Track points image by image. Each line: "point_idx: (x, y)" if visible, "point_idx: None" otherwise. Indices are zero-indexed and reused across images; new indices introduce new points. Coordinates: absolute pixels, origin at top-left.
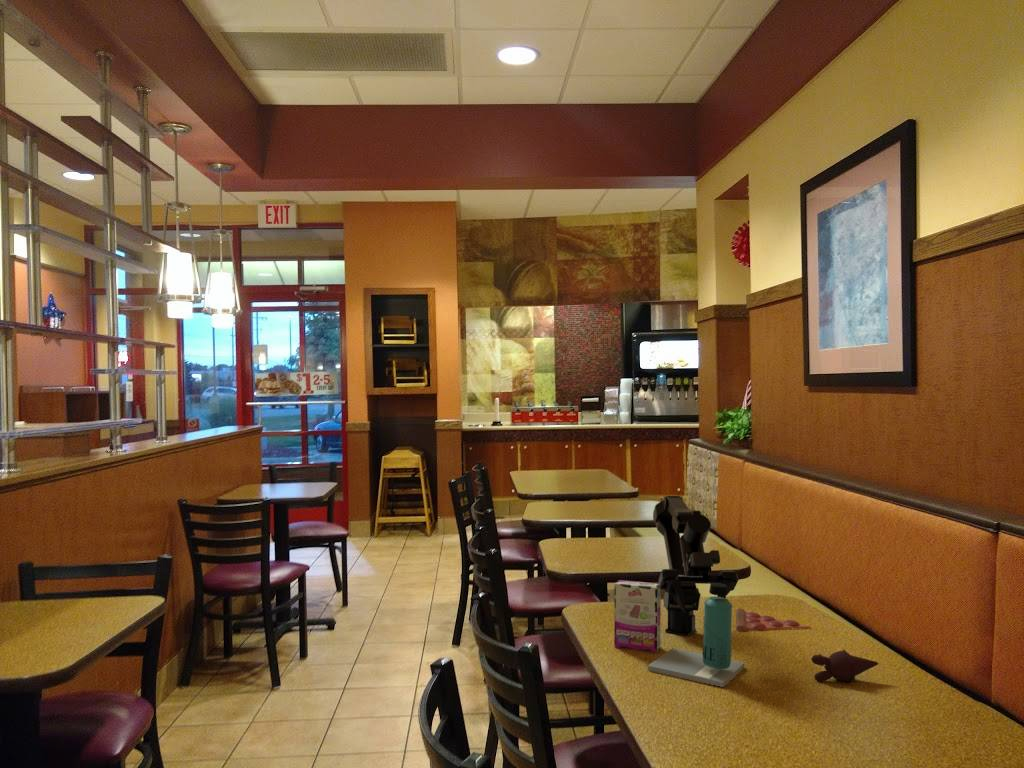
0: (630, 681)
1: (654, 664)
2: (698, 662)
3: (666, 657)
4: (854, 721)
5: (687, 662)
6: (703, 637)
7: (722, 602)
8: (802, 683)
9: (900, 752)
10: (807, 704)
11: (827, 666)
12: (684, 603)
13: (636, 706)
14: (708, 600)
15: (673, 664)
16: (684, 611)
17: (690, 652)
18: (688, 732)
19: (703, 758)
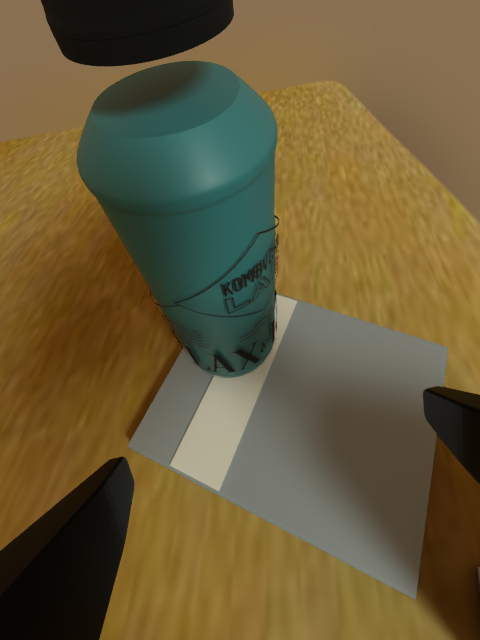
0: (457, 272)
1: (430, 360)
2: (287, 413)
3: (410, 444)
4: (22, 207)
5: (325, 405)
6: (274, 309)
7: (151, 70)
8: (14, 356)
9: (21, 148)
10: (67, 248)
11: None
12: (470, 403)
13: (397, 174)
14: (247, 84)
15: (369, 375)
16: (427, 400)
17: (324, 538)
18: (296, 128)
19: (275, 91)
